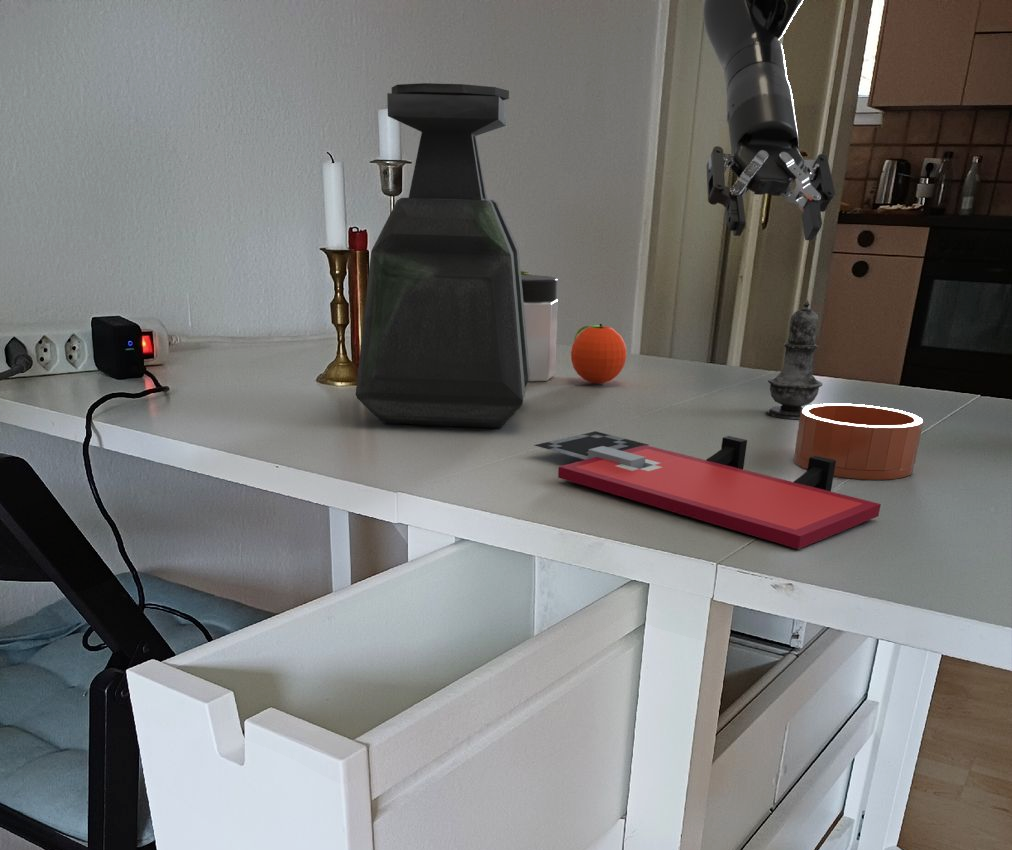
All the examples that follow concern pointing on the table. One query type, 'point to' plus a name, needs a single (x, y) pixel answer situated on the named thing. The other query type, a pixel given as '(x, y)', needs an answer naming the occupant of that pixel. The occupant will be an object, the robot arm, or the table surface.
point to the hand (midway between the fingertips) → (776, 233)
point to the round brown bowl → (859, 440)
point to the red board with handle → (716, 488)
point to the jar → (540, 324)
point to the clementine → (598, 353)
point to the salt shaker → (796, 367)
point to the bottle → (445, 277)
